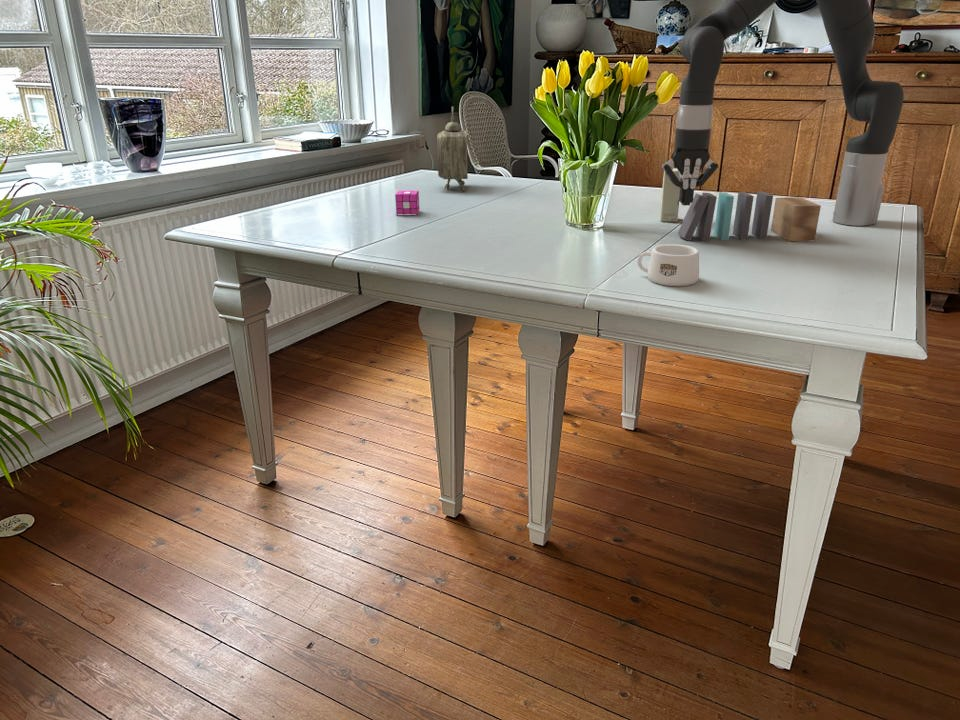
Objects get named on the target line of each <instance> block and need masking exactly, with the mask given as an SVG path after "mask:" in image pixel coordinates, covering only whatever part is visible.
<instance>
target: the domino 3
mask: <svg viewBox="0 0 960 720" xmlns="http://www.w3.org/2000/svg"><path fill="white" fill-rule="evenodd" d="M734 199H735V196H734V195H732V194H730V193H728V192H725V191H724V192H718V197H717V207H716V214H715V215H716V216H715V222H714V223H715V225H714V232H713V236H715V237H717V238H718V239H719V240H721V241H729V237H730V230H731V222H732V221H731V220H732V214H733V207H734V201H735V200H734Z"/></svg>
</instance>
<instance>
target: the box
mask: <svg viewBox="0 0 960 720" xmlns="http://www.w3.org/2000/svg"><path fill="white" fill-rule="evenodd" d="M672 171H673V172H674V174H675V175H676V177H677V178H678V180H679V181H680V176H679V171H678V170H677V168H676V167H674V169H673V170H672ZM662 178H663V179H662V190H661V202H660V216H659V221H660V222H669V223H671V222H672V223H674V222H675V223H676V222H678V220H679V209H680V201H679V196H680V187H677V186H675V185H674V184H673V183H672V182H671V180H670V179H669V178H668V176H667V175H666V173H665V172H664V171H663V177H662Z"/></svg>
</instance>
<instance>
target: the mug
mask: <svg viewBox="0 0 960 720" xmlns="http://www.w3.org/2000/svg"><path fill="white" fill-rule="evenodd" d="M646 256H649V258H650V259H649V264H648V266H647V267H648V268H646V266H644V265H643V263H642V260H643V259H644V257H646ZM637 266H638V267H639V269H640V270H641V271H643V272H645V273H647V275H646V277H647V278H648V279H649V280H650V281H651V282H652V283H654V284H658V285H661V286H667V287H668V286H669V287H687V286H693V285H694V284H696V283H697V282H698V281H699V279H700V278H699V277H700V251H699V250H698V249H697V248H695V247H694V246H690V245H686V244H685V245H684V244H677V243H676V244H674V243H673V244H671V243H670V244H669V243H668V244H659V245H656V246H654V247H652V249H651V251H644V252H642V253H640V254H639V255H638V257H637Z"/></svg>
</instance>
